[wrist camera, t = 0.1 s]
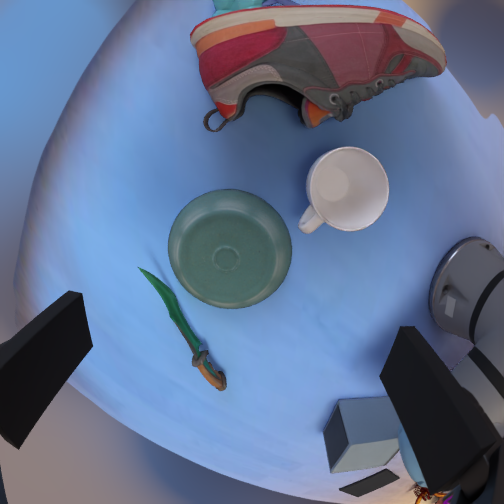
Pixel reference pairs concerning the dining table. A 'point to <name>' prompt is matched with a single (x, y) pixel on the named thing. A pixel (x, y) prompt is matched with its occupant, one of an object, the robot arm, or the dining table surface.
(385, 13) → the sneaker
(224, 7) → the flower
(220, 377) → the knife
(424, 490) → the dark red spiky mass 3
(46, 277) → the dining table surface
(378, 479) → the mat
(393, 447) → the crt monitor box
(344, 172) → the cup
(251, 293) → the saucer
